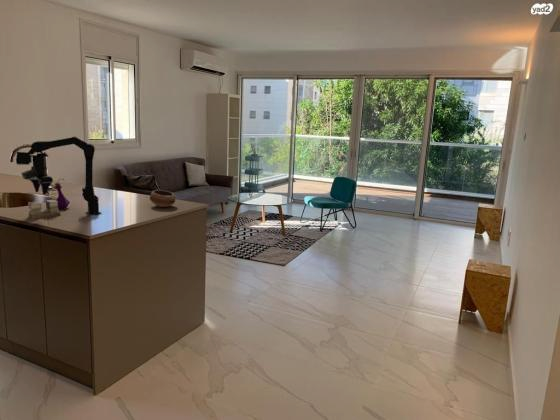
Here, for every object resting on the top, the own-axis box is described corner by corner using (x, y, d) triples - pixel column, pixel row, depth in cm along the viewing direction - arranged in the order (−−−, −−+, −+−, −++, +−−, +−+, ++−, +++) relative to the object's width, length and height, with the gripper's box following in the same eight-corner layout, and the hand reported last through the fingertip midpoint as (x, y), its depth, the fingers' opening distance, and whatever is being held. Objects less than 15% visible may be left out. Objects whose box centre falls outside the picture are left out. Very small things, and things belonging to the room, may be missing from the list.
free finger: (57, 211, 243) (57, 201, 242) (49, 212, 239) (49, 202, 238) (53, 210, 246) (53, 199, 245) (45, 211, 243) (45, 200, 241)
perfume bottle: (53, 209, 255) (51, 179, 252) (56, 207, 262) (55, 177, 259) (66, 210, 257) (65, 179, 253) (70, 207, 264) (69, 177, 260)
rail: (60, 215, 244) (59, 201, 242) (33, 218, 233) (32, 203, 231) (55, 213, 247) (54, 199, 246) (28, 216, 237) (28, 202, 235)
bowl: (168, 210, 272) (168, 194, 270) (145, 207, 275) (145, 192, 273) (179, 205, 287) (179, 190, 285) (157, 203, 290) (157, 188, 288)
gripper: (15, 163, 237) (17, 192, 240) (30, 167, 225) (31, 197, 228) (37, 162, 245) (39, 190, 248) (52, 166, 234) (53, 195, 237)
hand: (40, 193), depth 240 cm, fingers open, 9 cm apart
